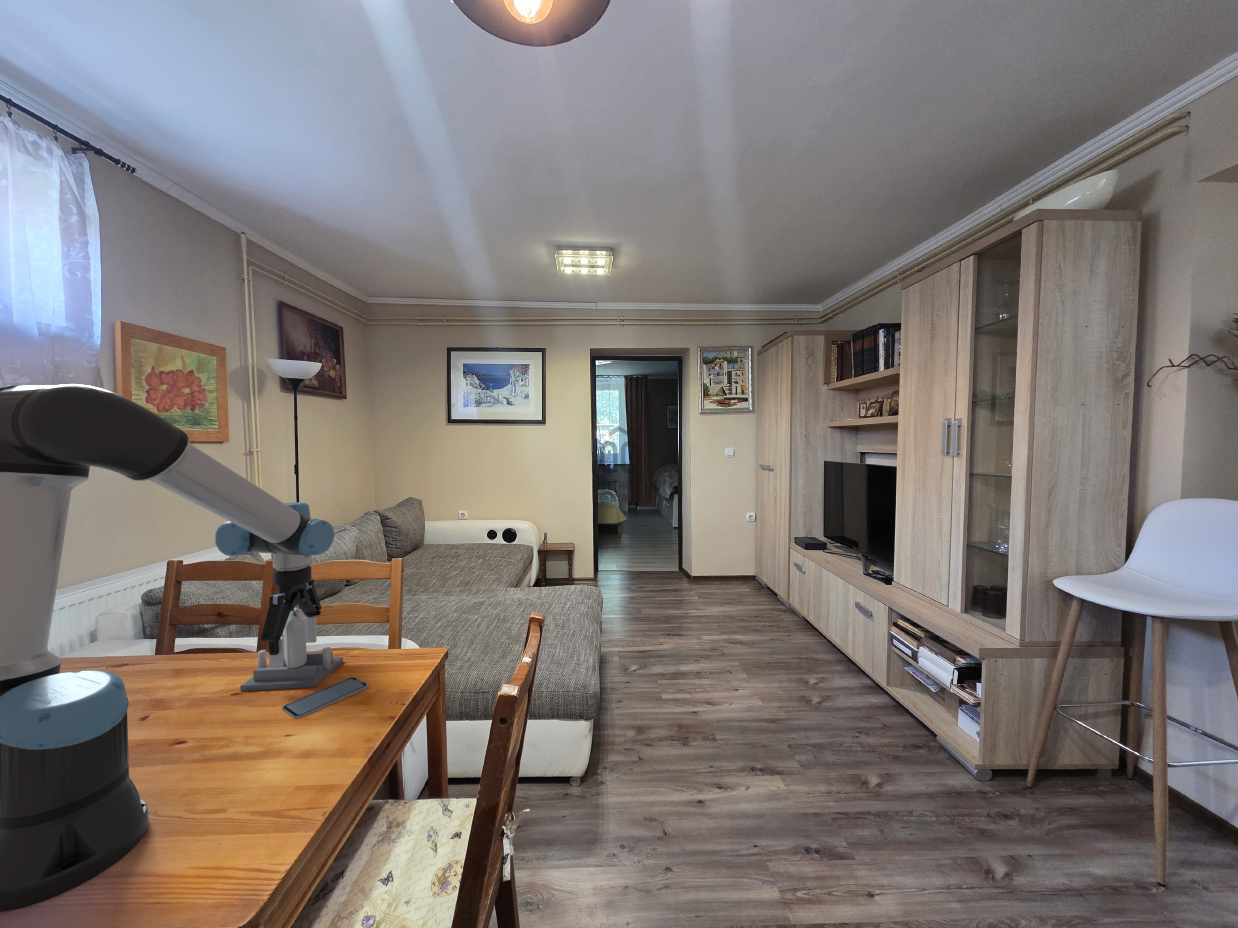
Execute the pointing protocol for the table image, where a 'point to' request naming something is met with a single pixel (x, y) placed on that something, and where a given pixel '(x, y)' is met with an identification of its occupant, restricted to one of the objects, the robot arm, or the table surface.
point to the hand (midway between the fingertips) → (294, 653)
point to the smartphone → (324, 697)
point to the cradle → (292, 672)
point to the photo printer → (295, 639)
